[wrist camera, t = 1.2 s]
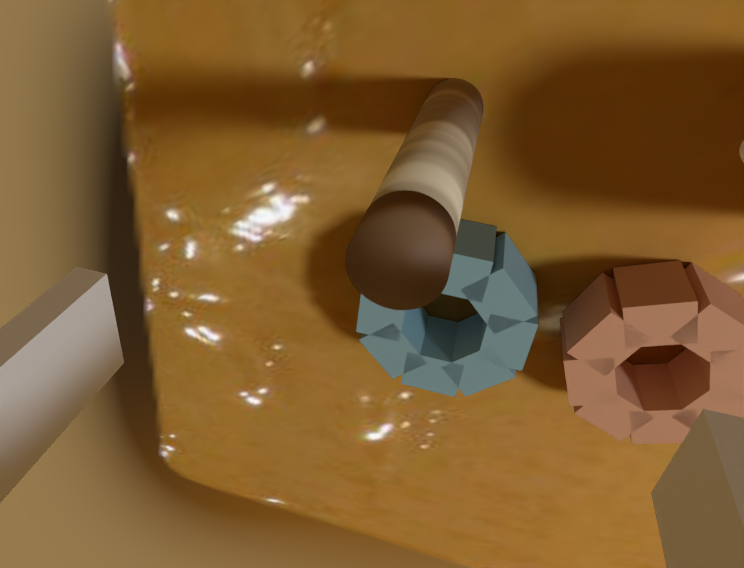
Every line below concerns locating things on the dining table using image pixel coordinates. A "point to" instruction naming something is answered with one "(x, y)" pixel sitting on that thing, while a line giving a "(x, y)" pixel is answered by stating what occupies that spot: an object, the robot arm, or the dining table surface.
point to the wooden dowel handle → (419, 204)
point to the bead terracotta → (654, 328)
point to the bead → (468, 337)
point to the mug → (742, 151)
